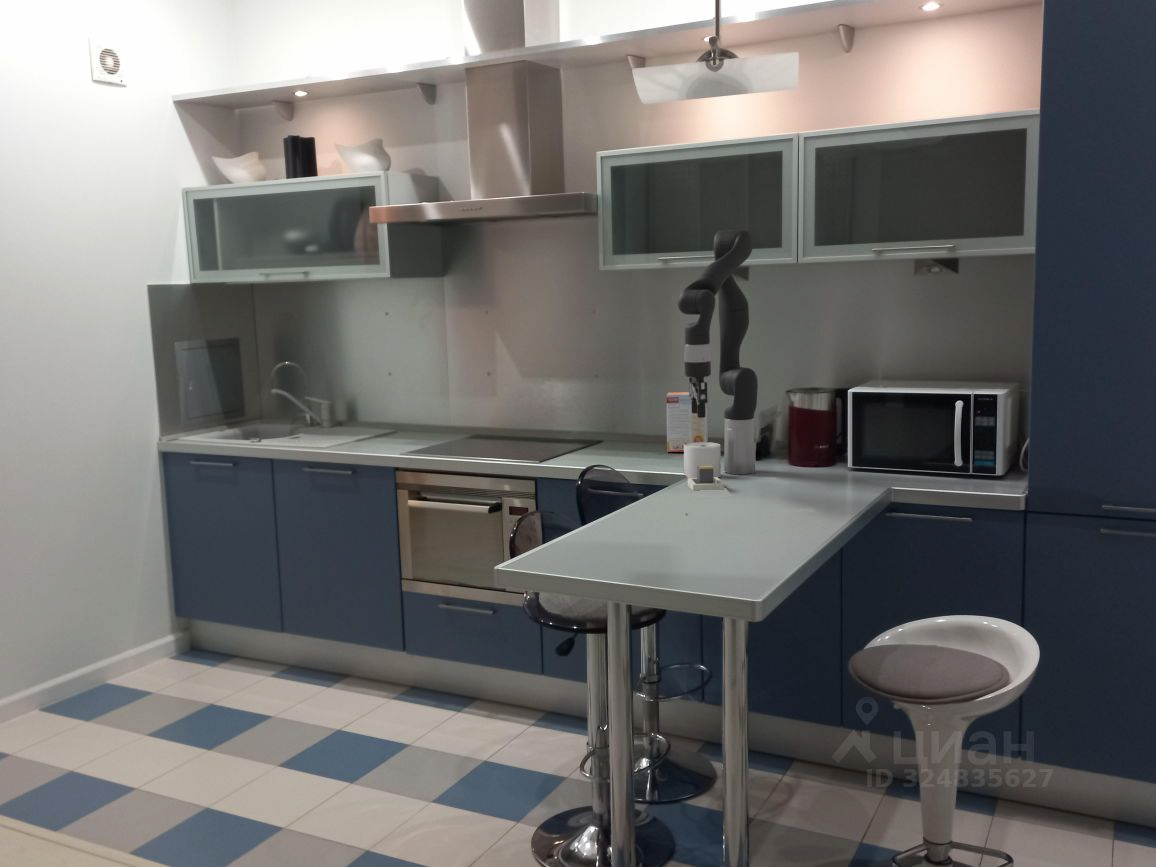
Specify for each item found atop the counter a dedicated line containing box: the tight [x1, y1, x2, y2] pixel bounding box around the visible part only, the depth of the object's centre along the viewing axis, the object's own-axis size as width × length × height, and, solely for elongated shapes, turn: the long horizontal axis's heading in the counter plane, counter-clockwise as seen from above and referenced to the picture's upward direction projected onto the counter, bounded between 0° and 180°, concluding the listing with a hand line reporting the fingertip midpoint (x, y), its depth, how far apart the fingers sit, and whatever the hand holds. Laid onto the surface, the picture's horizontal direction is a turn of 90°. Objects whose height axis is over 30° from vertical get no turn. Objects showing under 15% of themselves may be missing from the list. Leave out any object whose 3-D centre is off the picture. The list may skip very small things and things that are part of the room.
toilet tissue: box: [683, 441, 722, 479], centre depth 320 cm, size 11×12×10 cm
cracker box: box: [666, 391, 709, 452], centre depth 361 cm, size 14×6×21 cm, turn 80°
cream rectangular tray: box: [687, 477, 727, 491], centre depth 297 cm, size 11×18×3 cm, turn 4°
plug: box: [697, 466, 713, 484], centre depth 300 cm, size 4×4×7 cm
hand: (698, 415), depth 299 cm, fingers open, 8 cm apart
